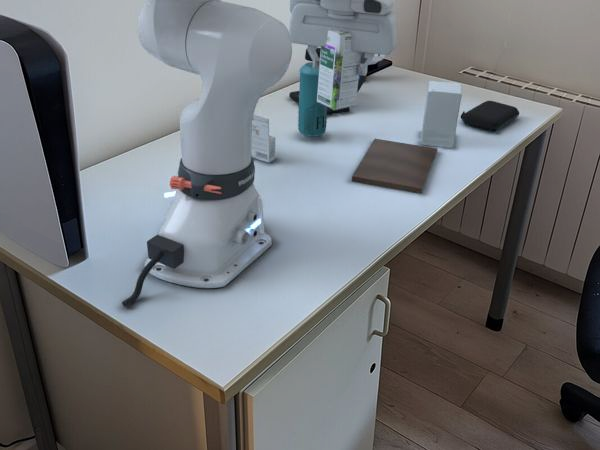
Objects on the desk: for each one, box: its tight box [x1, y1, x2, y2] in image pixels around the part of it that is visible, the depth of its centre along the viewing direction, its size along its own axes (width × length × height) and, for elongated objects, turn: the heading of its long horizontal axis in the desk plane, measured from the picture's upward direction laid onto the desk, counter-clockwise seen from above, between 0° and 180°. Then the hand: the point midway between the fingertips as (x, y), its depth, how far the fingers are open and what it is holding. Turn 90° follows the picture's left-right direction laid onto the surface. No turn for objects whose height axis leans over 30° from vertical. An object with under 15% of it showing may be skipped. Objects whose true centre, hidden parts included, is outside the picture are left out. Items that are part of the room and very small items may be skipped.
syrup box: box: [317, 30, 361, 110], centre depth 129 cm, size 6×6×14 cm
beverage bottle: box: [297, 47, 328, 137], centre depth 148 cm, size 6×7×20 cm
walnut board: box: [351, 138, 439, 195], centre depth 141 cm, size 20×14×1 cm
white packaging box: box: [420, 80, 463, 149], centre depth 150 cm, size 7×7×13 cm
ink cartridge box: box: [251, 114, 276, 164], centre depth 141 cm, size 2×11×10 cm, turn 56°
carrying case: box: [460, 100, 520, 133], centre depth 164 cm, size 11×3×15 cm
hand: (339, 71), depth 129 cm, fingers closed on syrup box, 7 cm apart
